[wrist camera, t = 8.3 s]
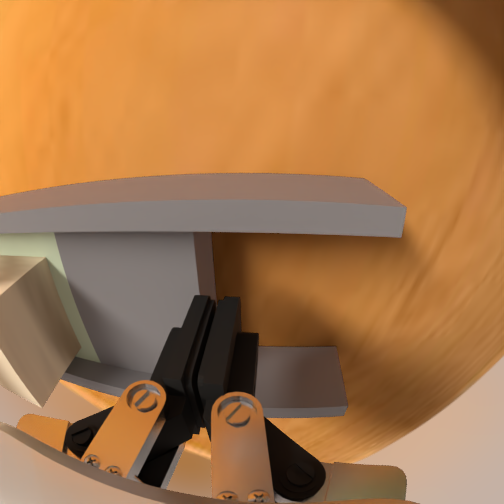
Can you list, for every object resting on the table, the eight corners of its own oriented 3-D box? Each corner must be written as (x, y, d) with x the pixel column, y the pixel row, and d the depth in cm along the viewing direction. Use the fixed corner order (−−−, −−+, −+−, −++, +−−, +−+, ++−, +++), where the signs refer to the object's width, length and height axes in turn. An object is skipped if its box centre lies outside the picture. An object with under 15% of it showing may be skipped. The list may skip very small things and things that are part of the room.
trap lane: (364, 178, 12) (406, 207, 8) (333, 357, 16) (343, 415, 12) (-28, 203, 14) (-66, 223, 9) (9, 315, 18) (-18, 343, 14)
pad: (85, 200, 13) (51, 220, 10) (119, 332, 17) (100, 363, 14) (14, 208, 13) (-16, 224, 11) (49, 318, 17) (29, 341, 15)
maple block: (45, 257, 11) (-19, 313, 7) (81, 347, 14) (42, 408, 9) (-9, 254, 12) (-60, 295, 7) (23, 331, 14) (-14, 376, 10)
